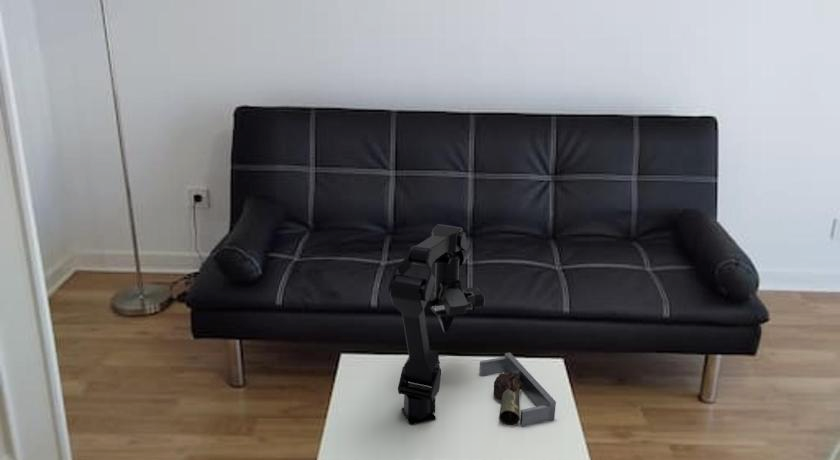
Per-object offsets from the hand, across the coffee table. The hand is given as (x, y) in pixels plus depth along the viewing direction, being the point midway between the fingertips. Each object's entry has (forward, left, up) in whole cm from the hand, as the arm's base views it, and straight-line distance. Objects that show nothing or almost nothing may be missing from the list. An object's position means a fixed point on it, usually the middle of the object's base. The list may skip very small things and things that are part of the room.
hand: (445, 331), depth 195 cm
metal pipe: (+10, -16, -13) cm, 23 cm away
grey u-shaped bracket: (+13, -14, -13) cm, 23 cm away
